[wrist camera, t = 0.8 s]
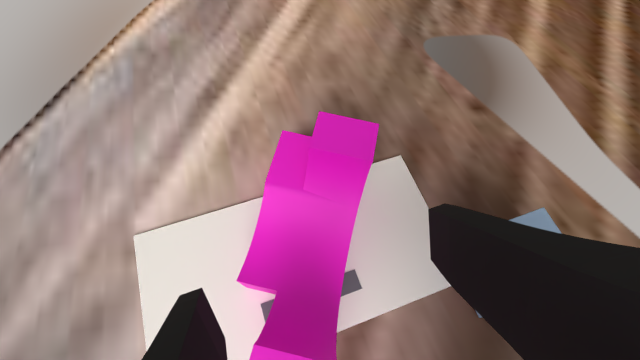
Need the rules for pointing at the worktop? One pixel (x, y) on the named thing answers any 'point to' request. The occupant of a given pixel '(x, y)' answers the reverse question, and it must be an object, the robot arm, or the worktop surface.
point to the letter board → (254, 306)
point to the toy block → (308, 235)
